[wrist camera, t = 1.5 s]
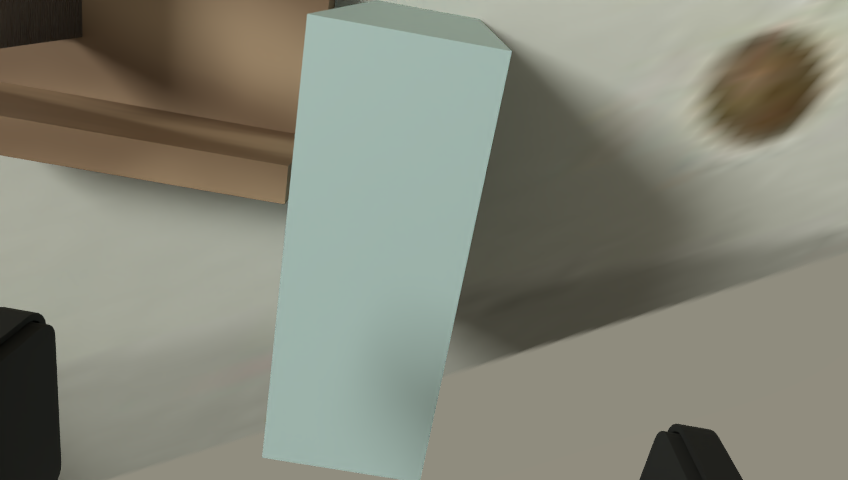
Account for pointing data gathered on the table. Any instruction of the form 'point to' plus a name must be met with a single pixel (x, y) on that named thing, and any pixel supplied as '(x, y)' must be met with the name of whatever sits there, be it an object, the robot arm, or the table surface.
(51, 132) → the shelf
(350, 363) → the book
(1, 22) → the bookend
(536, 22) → the table surface
